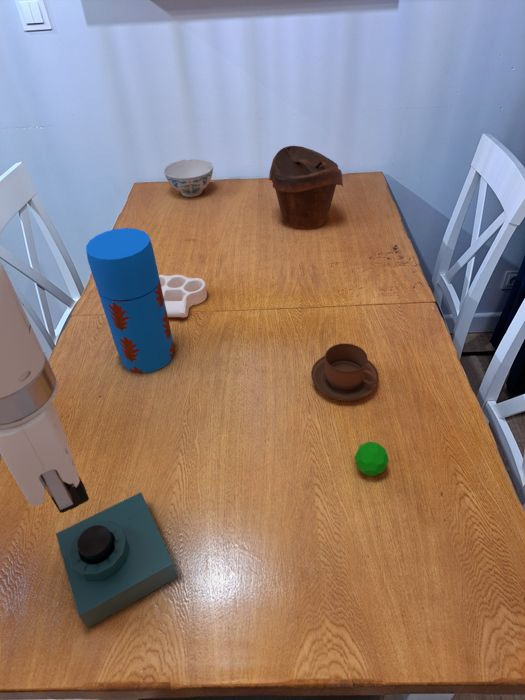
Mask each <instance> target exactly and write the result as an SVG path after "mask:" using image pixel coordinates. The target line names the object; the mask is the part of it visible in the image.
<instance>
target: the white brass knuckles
mask: <svg viewBox="0 0 525 700" xmlns="http://www.w3.org/2000/svg"><path fill="white" fill-rule="evenodd" d="M159 279H160V283H161V288H162V292H163V297H164V302H165V306H166V311H167V315H168V318H187V317H188V315H189V310H190V308H191V307H192V306H196V305H199V304H202V303H203V302H205V301H206V299H207V297H208V292H207V286H206V285H207V284H206V282H205V280H204V279H202V278H200V277H194V278H193V277H187V276H185V275H182V274H173V275H164V274H159Z"/></svg>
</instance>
